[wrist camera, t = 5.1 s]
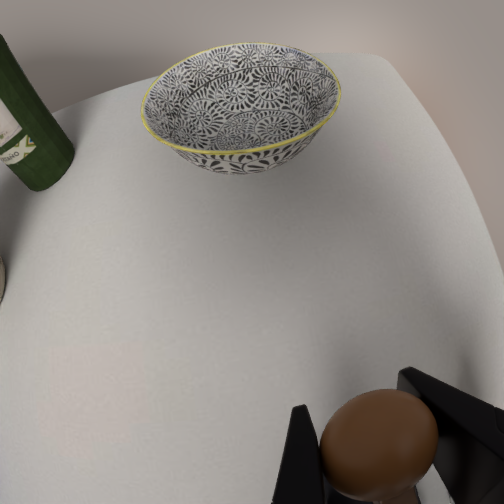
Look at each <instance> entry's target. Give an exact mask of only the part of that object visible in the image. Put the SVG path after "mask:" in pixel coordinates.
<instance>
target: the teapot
mask: <svg viewBox="0 0 504 504" xmlns="http://www.w3.org/2000/svg"><path fill="white" fill-rule="evenodd" d="M4 286H5V266H4V263H3V260H2V258H1V256H0V301H1V299H2V295H3V292H4Z"/></svg>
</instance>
